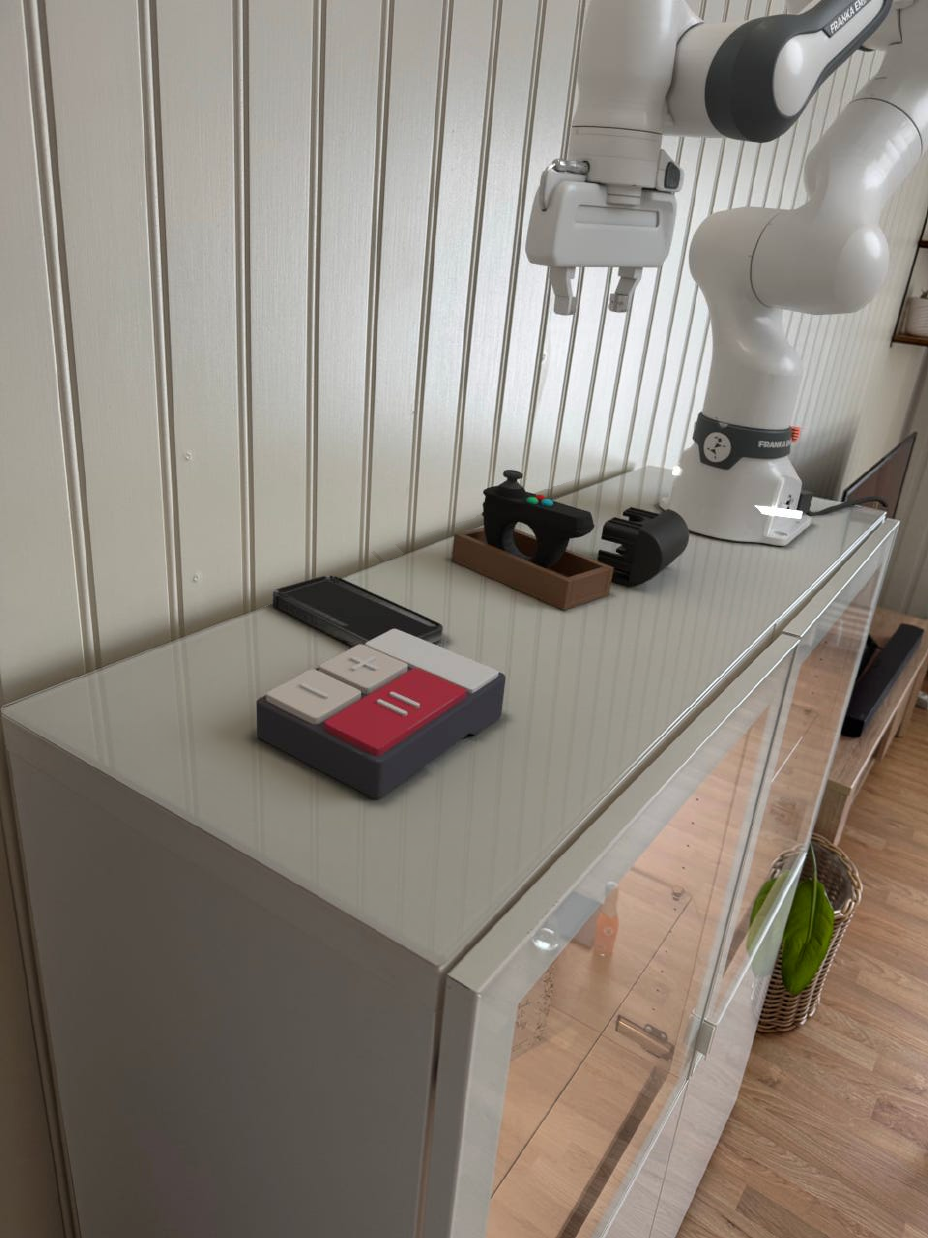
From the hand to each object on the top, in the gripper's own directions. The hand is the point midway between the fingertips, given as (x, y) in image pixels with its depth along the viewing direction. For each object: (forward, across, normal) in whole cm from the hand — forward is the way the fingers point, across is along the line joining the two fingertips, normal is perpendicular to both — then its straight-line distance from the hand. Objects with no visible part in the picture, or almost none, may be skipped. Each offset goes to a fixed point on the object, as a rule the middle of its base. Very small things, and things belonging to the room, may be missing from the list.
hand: (592, 313), depth 96 cm
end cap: (+27, +2, -10) cm, 28 cm away
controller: (+26, -10, -3) cm, 28 cm away
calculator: (+25, -43, -17) cm, 53 cm away
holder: (+26, -10, -4) cm, 28 cm away
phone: (+25, -33, -2) cm, 42 cm away
